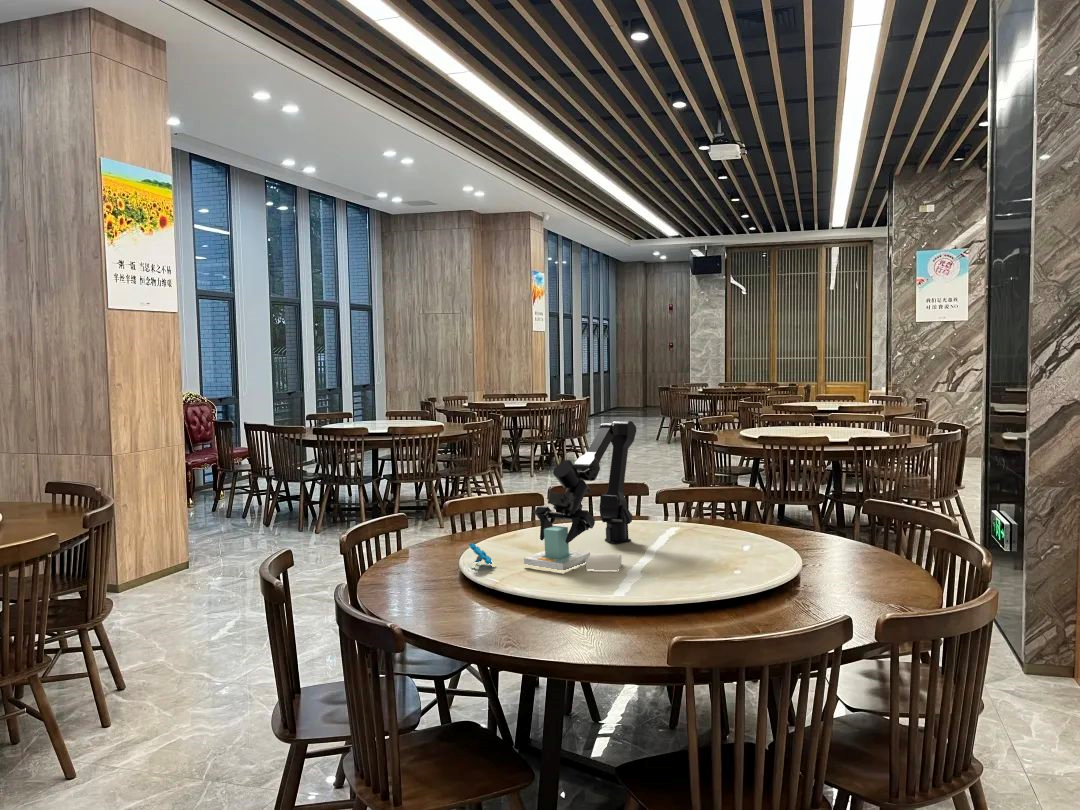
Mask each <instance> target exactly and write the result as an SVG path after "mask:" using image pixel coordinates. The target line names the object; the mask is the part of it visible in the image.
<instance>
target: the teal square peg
mask: <svg viewBox="0 0 1080 810" xmlns="http://www.w3.org/2000/svg"><path fill="white" fill-rule="evenodd" d="M568 529H569V528H568V526H561V525H560V526H559V525H553V526H552V527H549V528H546V529H544V539H543V540H544V541H543V542H544V551H545V558H553V559H562V558H565V557H567V556H569V550H570V546H569V544H570V543H568V544H567V543H566V542H565V541H566V538H567V535H568V533H569V530H568Z"/></svg>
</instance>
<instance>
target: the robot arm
mask: <svg viewBox="0 0 1080 810" xmlns="http://www.w3.org/2000/svg"><path fill="white" fill-rule="evenodd" d="M636 433H637V426H636V424H635V423H634V421H632V420H614V421H613V422H603V423H601V424H600V426H599V430H598V432H597V433H596V435H595V437H594V439H593V440H592V442H591V443H590V445H589V447H588V449H587V451H586V452H585V453H584V454H583V455H581V456H580V457H578V458H576V459H577V460H576V461H574V463H573V462H572V460H570V459H564V460H563V461H562V462H561V463H558V465H556V467H554V468H553V472H552V474H553V476H554V477H555V478H556V480H557V481H558V482H559V484H561V486H562V487H563V488H564V489H566V490H565V492H564V493H559V492H558V493H557V492H549V494H548V499H547V504H548V505H552V506H553V509H554V510H555V511H552V509H551V508H550V507H549V506H542V505H538V506H537V507H536V508H535V510H534V511H533V513H534V515H535V516H536V517H537V518H538V519H539V521H540V530H539V531H540V533H539V540H540V541H543V540H544V529H546V528H549V527H552V526H554V524H553V523H555V520H562V521H563V520H564V521H571V526H570V529H569V530H568V535H567V538H566V541H565V542H566V543H567V544H570V542H572V541H573V540H574V539H575V538H576V537H578V536H579V535H581V534H583V533H584V532H586V531H589V529H593V528H594V526H595V523H596V520H595V518H594V517H593V516H592V514H591V512H590V511H589V510H584V509H583V507H584V506H583V504H582V503H583V502H582V501H583V499H584V498H585V494H591V488H590V485H589V484H587V483H586V482H587V481H589V482H594V481H596V479H597V477H598V475H599V473H600V470H601V467H600V466H601V464H600V462H601V461H602V458H603V456H604V454H605V452H606V451H607V449H608V447H609V446H610V444H611V445H612V454H611V461H610V462H611V463H610V471H609V478H608V484H607V491H605V494H601V496H600V500H599V501H600V502H599V506H598V507H599V509H598V510H599V514H600V518H601V522H602V523H606V527H605V538H604V541H605V542H608V543H611V544H615V545H616V544H621V543H627V542H632V538H629V524H631V523H632V520H633V514H632V512H631V511H630V510H629V509H628V502H627V498H626V496H625V494H624V488H625V480H626V479H625V478H626V469H627V461H628V453H629V448H630V447H631V446H632V444H633V443H634V441H635V439H636Z"/></svg>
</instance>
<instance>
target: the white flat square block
mask: <svg viewBox="0 0 1080 810" xmlns="http://www.w3.org/2000/svg"><path fill="white" fill-rule="evenodd" d="M622 562H623V561H622V553H590V556H589V558H588V559H587V561H586V565H585V568H586V569H594V570H617V571H618V569H619V568H620V569H621V567H622V565H621V563H622ZM622 564H623V563H622ZM620 566H621V567H620ZM620 569H619V570H620ZM618 572H619V571H618Z"/></svg>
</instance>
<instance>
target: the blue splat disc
mask: <svg viewBox="0 0 1080 810" xmlns="http://www.w3.org/2000/svg"><path fill="white" fill-rule="evenodd" d="M468 545H469V547H470V549H471V550H472V551H473V553H474V554H475V555H477V556H476V559H475V560H474V562H478V563H480V562H482V561H484V563H485V564H487V565H489V563H490V564H492V562H491V560H492V558H491V556H489V555H488V554H487V553H486V552H485V550H484V549H482V550H481V548H480V547H479V546H477V545H476V544H475V543H472V542H470V543H469V544H468Z"/></svg>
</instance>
